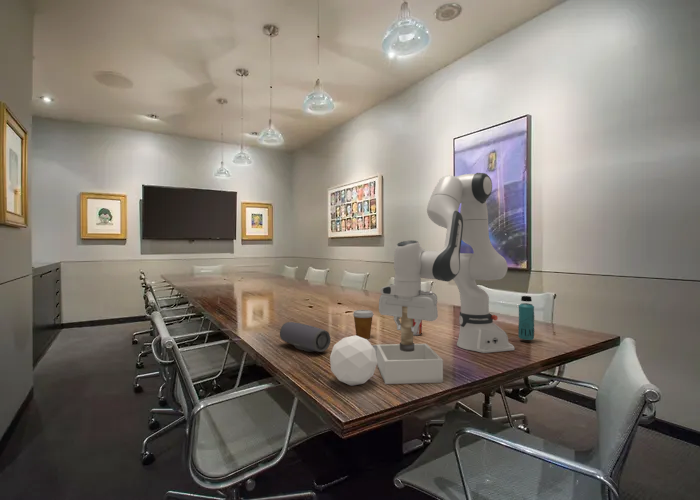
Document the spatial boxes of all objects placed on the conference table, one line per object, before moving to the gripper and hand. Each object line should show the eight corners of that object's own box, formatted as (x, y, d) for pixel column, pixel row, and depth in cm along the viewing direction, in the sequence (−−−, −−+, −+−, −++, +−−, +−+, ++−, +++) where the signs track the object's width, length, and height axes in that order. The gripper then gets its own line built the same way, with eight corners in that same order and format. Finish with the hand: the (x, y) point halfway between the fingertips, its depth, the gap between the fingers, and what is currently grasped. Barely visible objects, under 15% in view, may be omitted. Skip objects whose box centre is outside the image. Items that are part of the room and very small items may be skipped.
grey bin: (426, 363, 126) (426, 343, 126) (442, 382, 108) (442, 359, 108) (376, 364, 125) (376, 344, 125) (385, 384, 107) (385, 361, 107)
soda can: (421, 336, 163) (421, 310, 163) (406, 335, 164) (406, 310, 164) (421, 332, 170) (421, 308, 170) (407, 332, 171) (407, 307, 171)
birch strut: (416, 349, 117) (417, 305, 117) (410, 352, 113) (410, 307, 113) (403, 346, 119) (404, 304, 119) (397, 349, 116) (397, 306, 116)
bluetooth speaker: (331, 352, 139) (331, 327, 139) (314, 357, 132) (314, 331, 132) (296, 341, 155) (296, 319, 155) (278, 346, 148) (278, 322, 148)
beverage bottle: (518, 342, 152) (518, 296, 152) (517, 338, 159) (517, 294, 158) (535, 344, 150) (535, 297, 150) (533, 340, 156) (533, 295, 156)
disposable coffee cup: (377, 336, 163) (377, 310, 163) (367, 341, 155) (367, 314, 155) (359, 333, 168) (359, 308, 168) (348, 338, 160) (348, 312, 160)
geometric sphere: (341, 397, 110) (323, 352, 116) (383, 376, 113) (363, 334, 119) (340, 391, 97) (320, 342, 104) (388, 368, 100) (365, 321, 107)
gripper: (441, 290, 112) (440, 333, 113) (385, 286, 125) (385, 325, 125) (433, 292, 107) (432, 337, 107) (376, 288, 119) (376, 328, 120)
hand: (407, 331), depth 116 cm, fingers closed on birch strut, 4 cm apart
